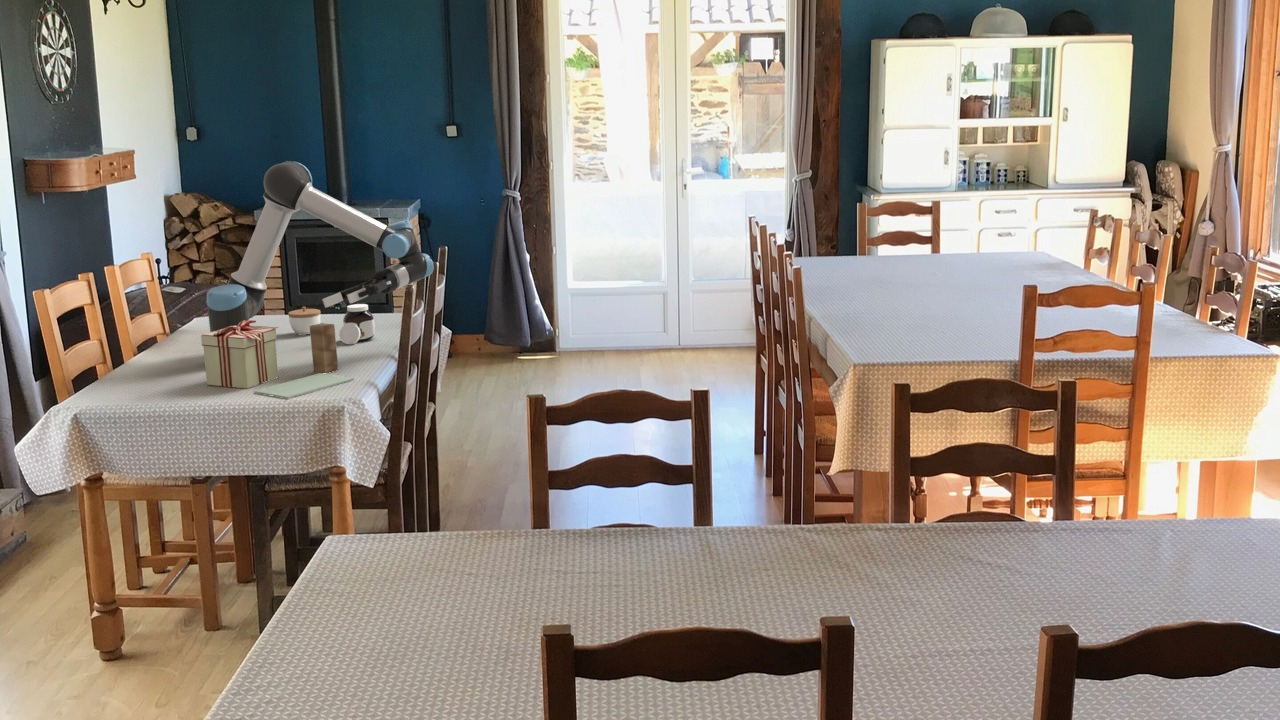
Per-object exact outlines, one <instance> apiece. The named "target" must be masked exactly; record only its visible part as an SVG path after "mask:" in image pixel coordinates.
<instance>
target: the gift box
mask: <svg viewBox="0 0 1280 720" xmlns="http://www.w3.org/2000/svg"><path fill="white" fill-rule="evenodd" d="M256 322H257V320H254V319H253V320H251V319H249V320H243V321H241V322H240V323H239V324H237V326H229V327H227V328H224V329H220V330H217V331H213V332H210V331H209V332H206V333H202V334H201V335H200V339H201V340H200V341H201V342H200V343H201V346H203V355H204V366H205V367H204V368H205V377H206V378H205V379H206V385H207V386H208V385H209V386H215V387H223V388H224V387H225V388H235V387H236V388H237V389H246V388H248V389H250V387H251V388H253V386H254V387H255V385H256V386H259V385H261V383H262V384H264V383H263V382H265V381H267V382H269V381H268V380H270V381H272V380H271V379H273V380H275V379H277V378H276V377H278V378H279V374H278V373H279V371H278V361H277V360H278V359H277V346H276V345H277V344H276V340H277V330H276V329H279V328H280V327H278V326H276V327H273V326H264V325H263V326H262V325H261V326H259V325H258V326H257V325H256V326H255V325H250V324H253V323H256ZM274 378H275V379H274ZM265 383H266V382H265ZM258 384H259V385H258ZM236 388H235V389H236Z"/></svg>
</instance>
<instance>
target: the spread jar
mask: <svg viewBox="0 0 1280 720" xmlns="http://www.w3.org/2000/svg"><path fill="white" fill-rule="evenodd" d="M346 307H347V308H346V309H347V310H346V311H347V312H346V313H345V315H344V316H343V319H342V320H343V322H342V324H343V325H342V326H341V328H340V330H339V333H338V336H339V339H340V341H342V343H343V344H346V345H354V344H356V343H364V342H363V341H366V342H370V341H371V340H372V339H373V338H374V336H375V332H376V326H375V319H374V315H373V314H372V313H371V311H369V304H366V303H356V304H355V303H354V304H349V305H347V306H346Z"/></svg>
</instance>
